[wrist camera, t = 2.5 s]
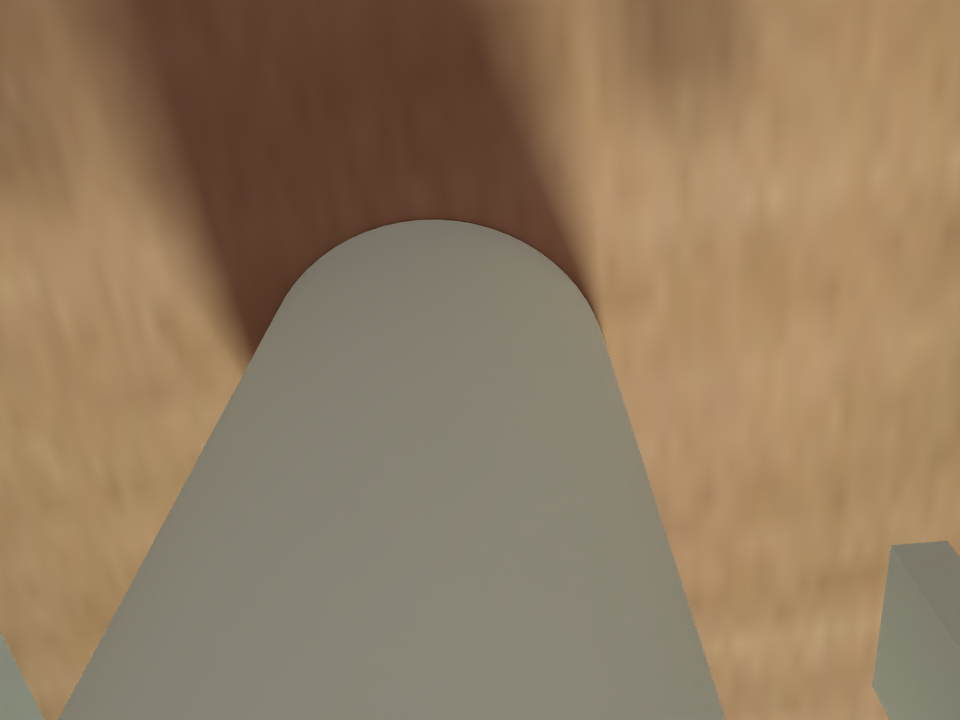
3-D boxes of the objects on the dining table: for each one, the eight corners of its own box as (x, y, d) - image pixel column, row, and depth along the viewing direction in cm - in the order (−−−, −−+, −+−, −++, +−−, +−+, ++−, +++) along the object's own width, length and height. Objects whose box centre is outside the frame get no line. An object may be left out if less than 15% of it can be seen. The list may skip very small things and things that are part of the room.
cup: (297, 530, 22) (-31, 1618, 8) (233, 232, 18) (-618, 1257, 4) (608, 511, 22) (863, 1598, 8) (606, 205, 18) (1093, 1193, 4)
